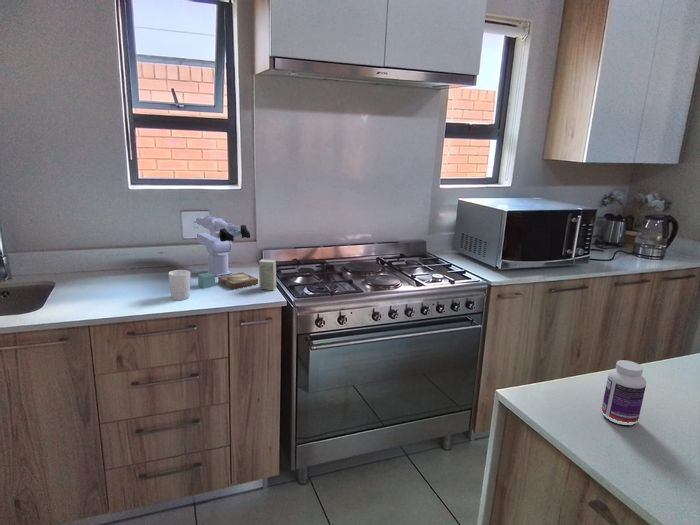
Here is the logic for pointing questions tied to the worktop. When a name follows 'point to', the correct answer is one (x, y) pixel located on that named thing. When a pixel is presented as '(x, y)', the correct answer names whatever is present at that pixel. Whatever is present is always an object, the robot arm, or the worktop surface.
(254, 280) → the walnut plinth
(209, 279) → the teal block
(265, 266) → the skincare box
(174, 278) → the white cup
